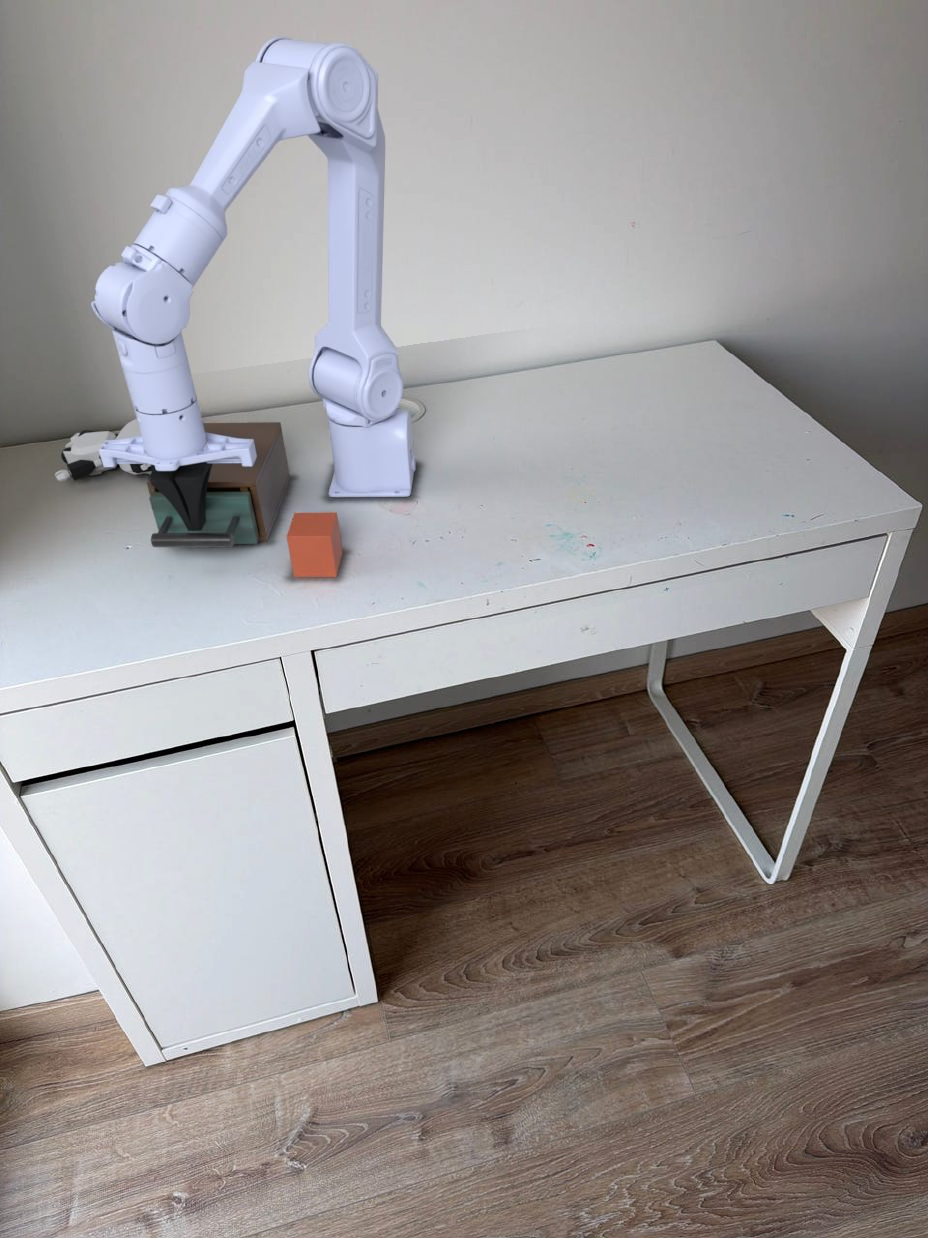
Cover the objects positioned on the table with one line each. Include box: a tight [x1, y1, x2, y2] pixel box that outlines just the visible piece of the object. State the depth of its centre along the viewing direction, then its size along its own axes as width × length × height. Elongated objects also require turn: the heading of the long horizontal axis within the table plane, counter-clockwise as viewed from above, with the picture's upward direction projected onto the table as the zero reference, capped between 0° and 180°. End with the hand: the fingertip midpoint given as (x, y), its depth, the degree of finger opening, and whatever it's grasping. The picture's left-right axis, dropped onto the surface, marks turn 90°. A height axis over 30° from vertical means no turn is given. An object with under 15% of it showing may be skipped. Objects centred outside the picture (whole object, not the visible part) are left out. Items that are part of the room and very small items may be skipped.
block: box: [286, 511, 344, 578], centre depth 90 cm, size 4×4×5 cm
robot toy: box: [54, 418, 152, 482], centre depth 108 cm, size 12×4×15 cm
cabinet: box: [146, 421, 291, 542], centre depth 98 cm, size 13×11×7 cm
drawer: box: [148, 487, 259, 548], centre depth 95 cm, size 17×10×6 cm, turn 178°
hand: (197, 525), depth 90 cm, fingers closed
